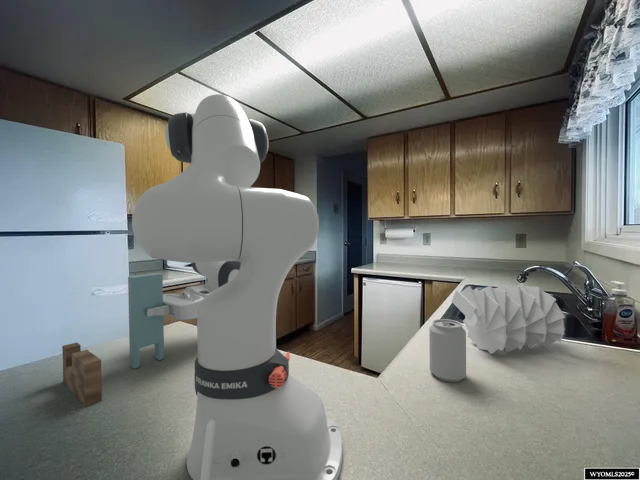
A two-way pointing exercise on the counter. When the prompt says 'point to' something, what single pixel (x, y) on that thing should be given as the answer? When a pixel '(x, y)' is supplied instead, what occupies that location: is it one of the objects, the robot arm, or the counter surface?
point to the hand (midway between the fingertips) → (142, 311)
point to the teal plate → (141, 327)
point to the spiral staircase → (510, 317)
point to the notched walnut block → (82, 373)
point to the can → (447, 350)
